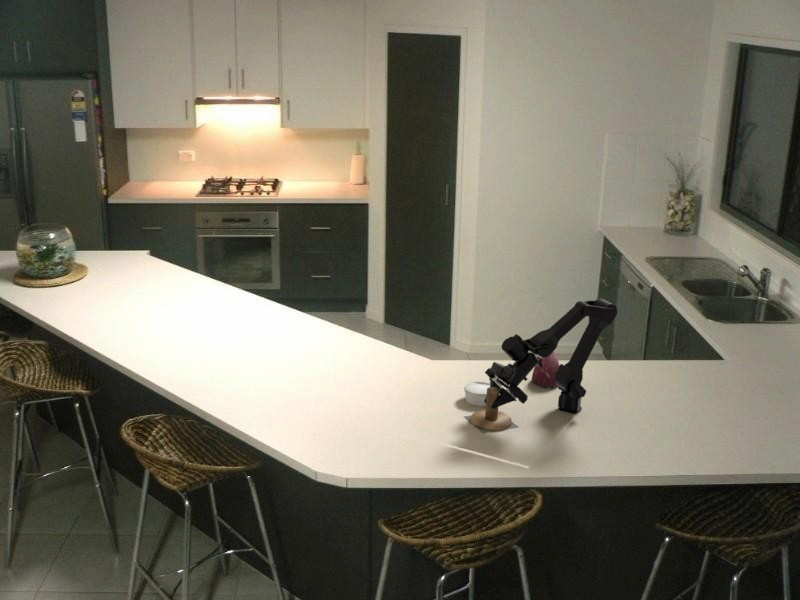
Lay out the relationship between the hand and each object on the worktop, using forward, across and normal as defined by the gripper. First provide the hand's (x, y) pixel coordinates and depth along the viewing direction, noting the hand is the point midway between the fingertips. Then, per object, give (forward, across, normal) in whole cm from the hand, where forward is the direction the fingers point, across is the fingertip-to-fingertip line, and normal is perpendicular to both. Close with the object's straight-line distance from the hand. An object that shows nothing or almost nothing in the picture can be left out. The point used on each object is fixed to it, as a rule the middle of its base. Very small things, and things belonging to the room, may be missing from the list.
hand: (488, 405), depth 319 cm
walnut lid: (+3, 0, +5) cm, 6 cm away
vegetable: (-21, -23, +31) cm, 44 cm away
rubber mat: (+4, 0, +6) cm, 7 cm away
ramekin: (0, -16, +10) cm, 19 cm away
